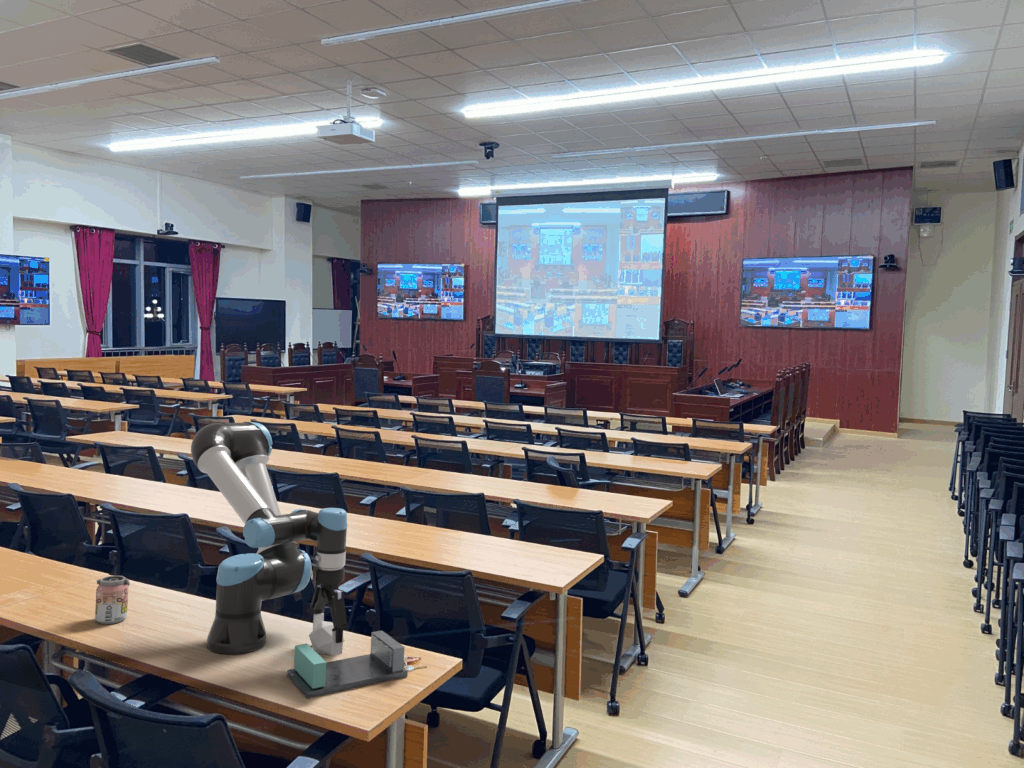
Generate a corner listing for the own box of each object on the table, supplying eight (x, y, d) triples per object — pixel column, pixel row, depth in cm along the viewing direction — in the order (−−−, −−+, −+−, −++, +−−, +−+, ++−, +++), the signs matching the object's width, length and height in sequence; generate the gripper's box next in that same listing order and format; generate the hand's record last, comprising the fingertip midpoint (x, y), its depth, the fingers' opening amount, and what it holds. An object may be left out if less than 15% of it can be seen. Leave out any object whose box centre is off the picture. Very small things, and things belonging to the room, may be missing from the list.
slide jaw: (293, 668, 183) (295, 645, 183) (307, 665, 185) (308, 643, 185) (312, 688, 172) (314, 664, 172) (326, 685, 174) (328, 661, 174)
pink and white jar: (99, 614, 216) (101, 573, 216) (131, 613, 219) (133, 573, 218) (90, 625, 208) (92, 583, 207) (123, 624, 210) (125, 582, 210)
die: (348, 651, 201) (339, 618, 205) (344, 647, 194) (334, 611, 198) (319, 663, 199) (309, 629, 203) (313, 659, 192) (304, 623, 196)
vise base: (286, 676, 182) (288, 645, 182) (383, 657, 197) (384, 629, 197) (306, 698, 171) (308, 666, 171) (407, 676, 186) (409, 647, 186)
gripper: (300, 557, 206) (297, 633, 206) (335, 580, 186) (331, 664, 186) (326, 554, 210) (323, 628, 211) (362, 576, 190) (359, 658, 190)
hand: (327, 645), depth 198 cm, fingers open, 13 cm apart
